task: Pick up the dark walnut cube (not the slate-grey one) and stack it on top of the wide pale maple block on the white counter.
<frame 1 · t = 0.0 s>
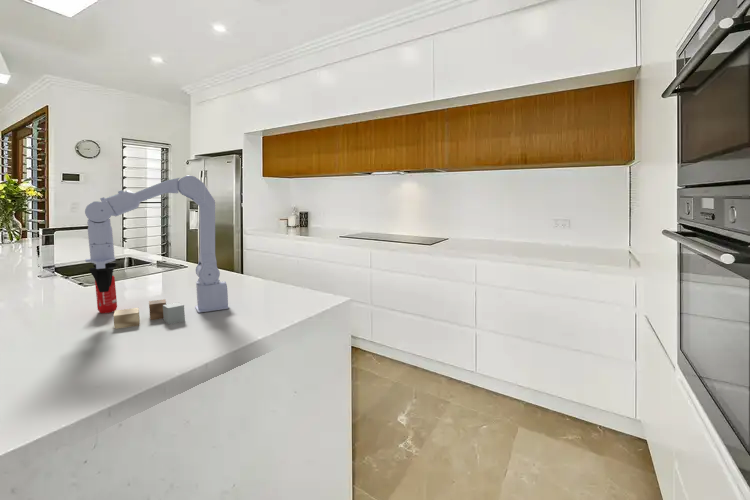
hand: (105, 289, 111), 10 cm above the counter, fingers open, 7 cm apart
grey block: (174, 321, 114), on the counter
beverage can: (107, 312, 123), on the counter
maple base: (127, 324, 110), on the counter
walnut block: (158, 317, 117), on the counter
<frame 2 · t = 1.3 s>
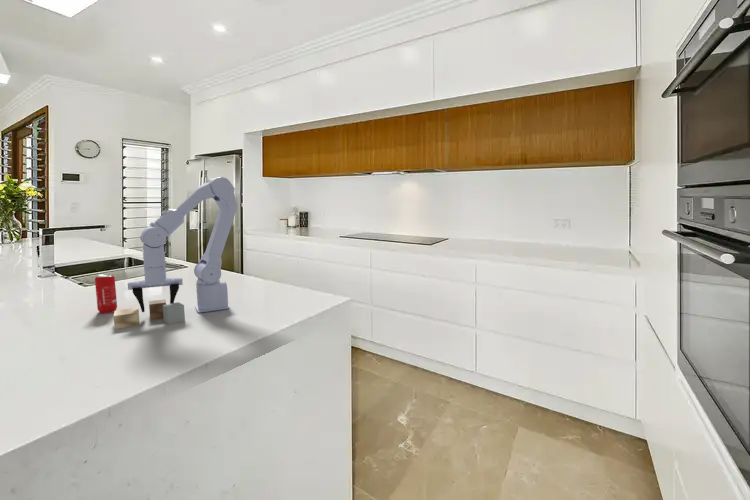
hand: (157, 309, 117), 2 cm above the counter, fingers open, 7 cm apart
nothing on the counter moved.
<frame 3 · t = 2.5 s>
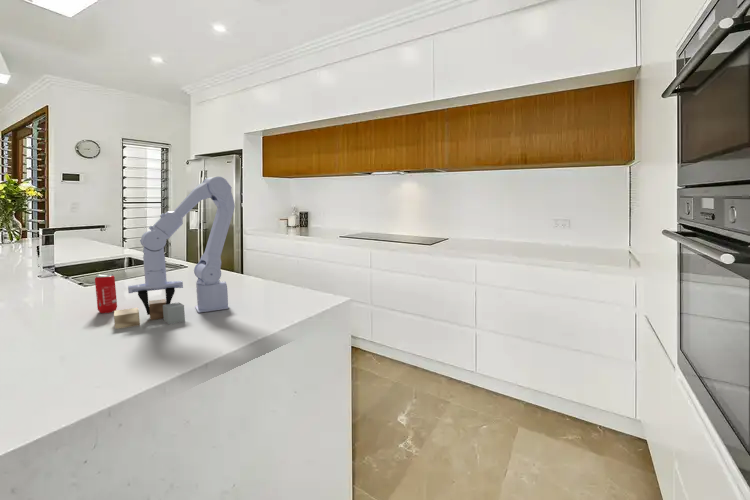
hand: (158, 312, 117), 1 cm above the counter, fingers closed on walnut block, 4 cm apart
walnut block: (158, 317, 117), on the counter, touching gripper
everything else where it was.
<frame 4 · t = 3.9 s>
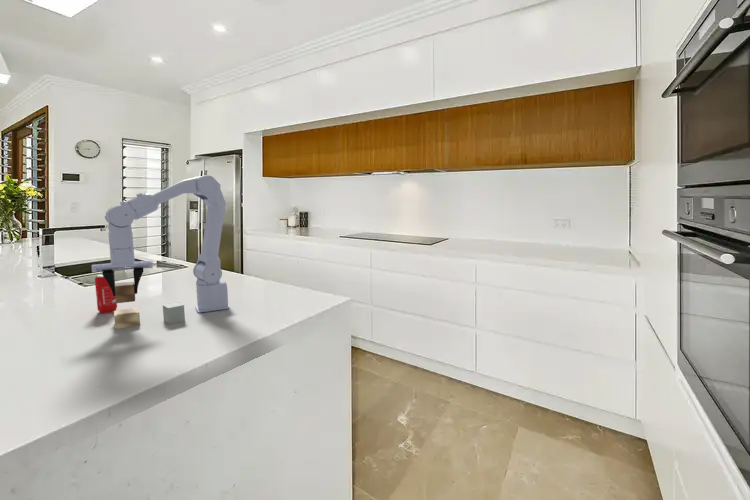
hand: (125, 294, 109), 9 cm above the counter, fingers closed on walnut block, 4 cm apart
walnut block: (126, 300, 110), point 7 cm above the counter, touching gripper
everything else where it was.
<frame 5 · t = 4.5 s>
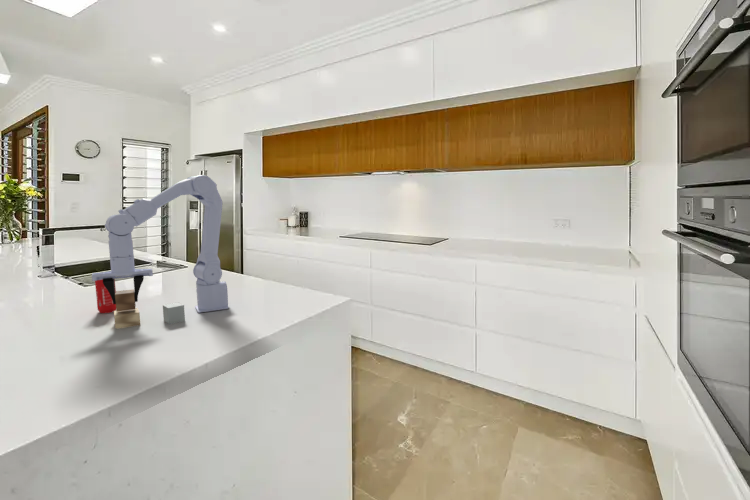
hand: (125, 302, 110), 7 cm above the counter, fingers closed on walnut block, 4 cm apart
walnut block: (126, 308, 110), point 5 cm above the counter, touching gripper
everything else where it was.
when the fingers open (7 cm above the counter, at t = 5.2 s): walnut block stays where it is, resting on maple base.
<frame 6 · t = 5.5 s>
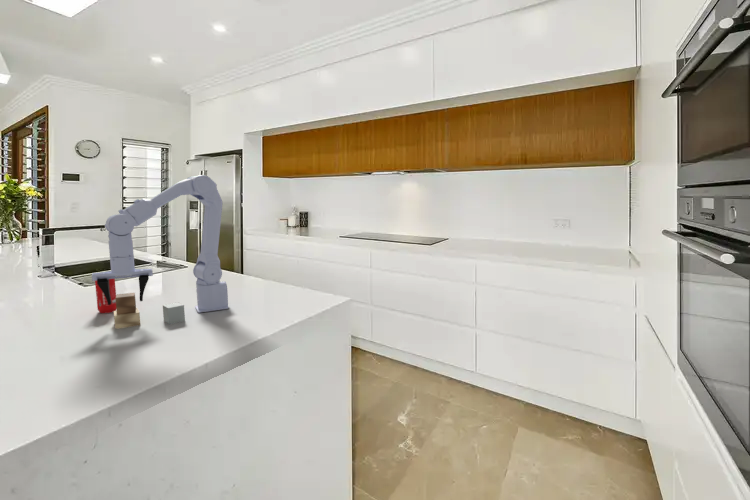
hand: (125, 302, 110), 7 cm above the counter, fingers open, 7 cm apart
maple base: (127, 324, 110), on the counter, touching walnut block
walnut block: (126, 311, 110), point 4 cm above the counter, touching maple base
everything else where it was.
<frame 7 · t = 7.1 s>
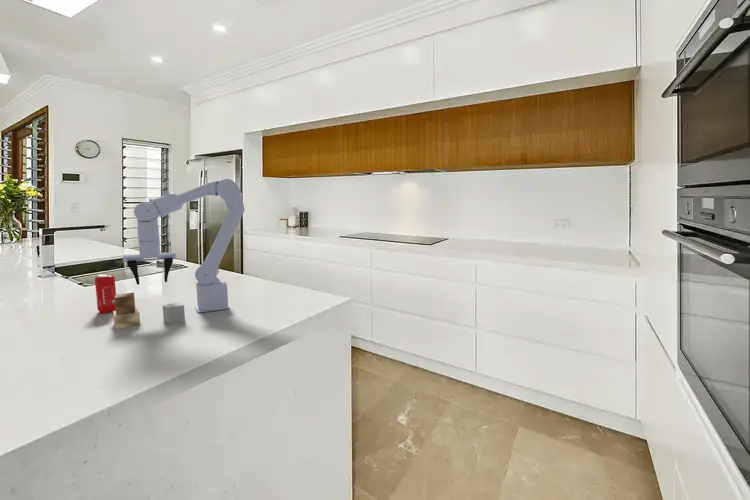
hand: (152, 282, 120), 10 cm above the counter, fingers open, 7 cm apart
maple base: (127, 324, 110), on the counter
walnut block: (126, 311, 110), point 4 cm above the counter
everything else where it was.
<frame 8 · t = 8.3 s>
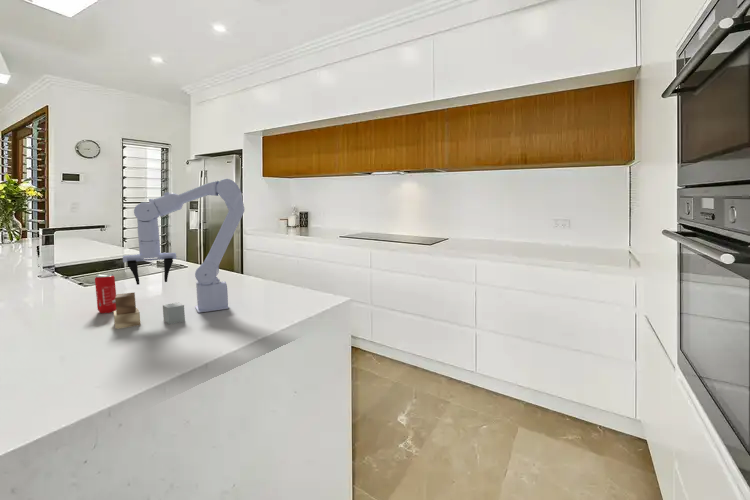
hand: (152, 282, 120), 10 cm above the counter, fingers open, 7 cm apart
nothing on the counter moved.
at the end: walnut block 0.0 cm off-centre on the maple base, point 4.0 cm above the maple base's base; walnut block tilted 0°; the gripper is holding nothing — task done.
